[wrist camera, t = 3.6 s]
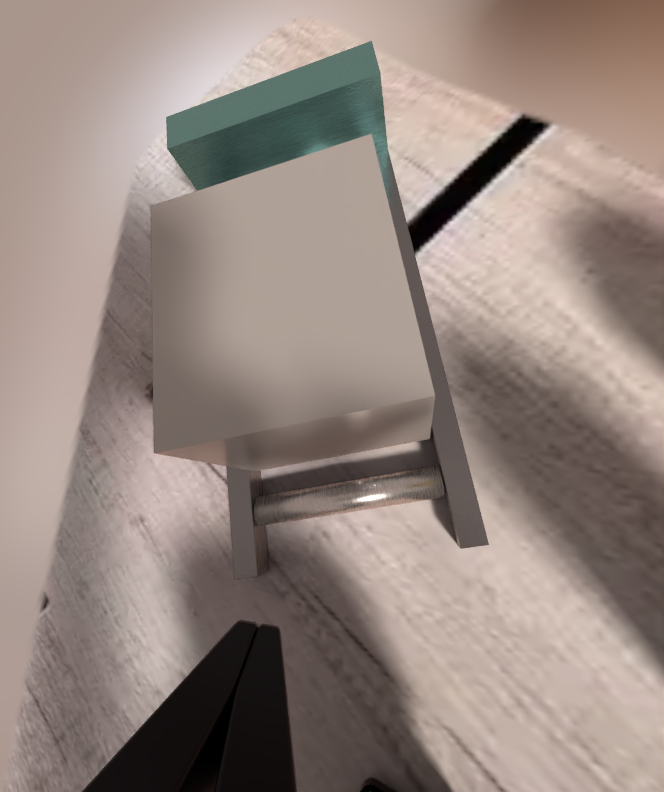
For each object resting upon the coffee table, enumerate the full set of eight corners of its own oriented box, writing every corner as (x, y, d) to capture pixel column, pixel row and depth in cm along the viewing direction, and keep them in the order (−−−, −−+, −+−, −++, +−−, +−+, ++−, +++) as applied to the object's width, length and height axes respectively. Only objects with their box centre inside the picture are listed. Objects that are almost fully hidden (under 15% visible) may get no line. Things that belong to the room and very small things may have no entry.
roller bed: (382, 142, 26) (371, 40, 20) (483, 541, 18) (511, 559, 12) (218, 195, 28) (166, 117, 22) (248, 573, 20) (180, 601, 14)
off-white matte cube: (429, 438, 18) (435, 396, 11) (255, 471, 20) (153, 453, 12) (389, 263, 21) (371, 133, 14) (240, 303, 23) (150, 206, 15)
